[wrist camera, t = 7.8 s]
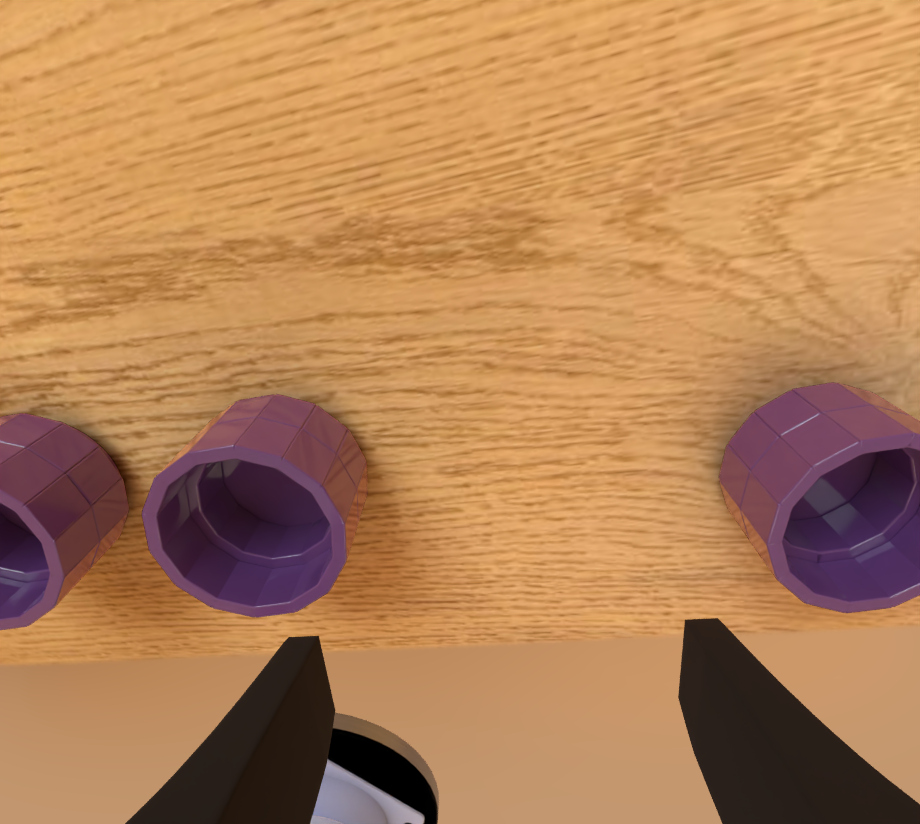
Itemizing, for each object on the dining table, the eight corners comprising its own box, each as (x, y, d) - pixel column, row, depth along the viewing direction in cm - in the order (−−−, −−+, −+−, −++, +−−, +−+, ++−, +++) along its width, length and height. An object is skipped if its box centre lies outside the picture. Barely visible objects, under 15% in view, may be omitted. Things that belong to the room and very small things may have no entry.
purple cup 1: (309, 561, 21) (274, 647, 18) (173, 470, 20) (105, 542, 16) (404, 460, 20) (388, 532, 16) (263, 353, 18) (209, 404, 15)
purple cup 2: (785, 556, 21) (851, 644, 17) (677, 462, 19) (724, 535, 16) (926, 451, 19) (1033, 524, 15) (819, 340, 18) (909, 390, 14)
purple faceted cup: (92, 574, 22) (14, 660, 18) (-56, 486, 20) (-172, 559, 17) (167, 477, 20) (97, 550, 16) (11, 373, 19) (-102, 428, 15)
